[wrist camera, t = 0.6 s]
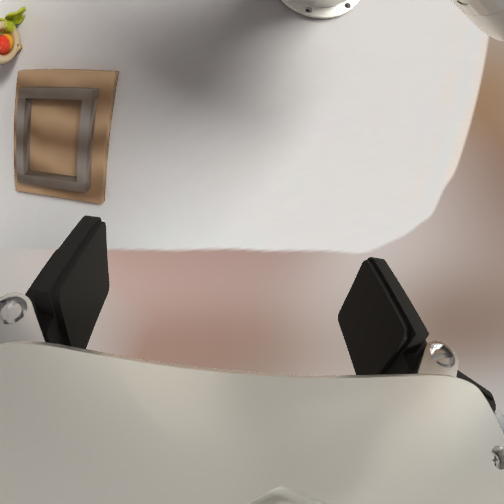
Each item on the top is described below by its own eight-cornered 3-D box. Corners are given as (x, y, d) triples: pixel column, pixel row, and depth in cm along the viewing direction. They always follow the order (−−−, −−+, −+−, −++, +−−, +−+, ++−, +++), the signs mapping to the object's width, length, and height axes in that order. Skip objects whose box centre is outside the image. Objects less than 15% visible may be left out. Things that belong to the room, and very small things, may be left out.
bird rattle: (41, 38, 32) (25, -6, 24) (6, 69, 26) (-16, 16, 18) (13, 54, 32) (-4, 12, 24) (-22, 87, 26) (-45, 39, 18)
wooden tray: (23, 70, 32) (10, 72, 29) (118, 71, 35) (109, 72, 32) (20, 187, 43) (9, 195, 40) (104, 200, 46) (96, 210, 43)
